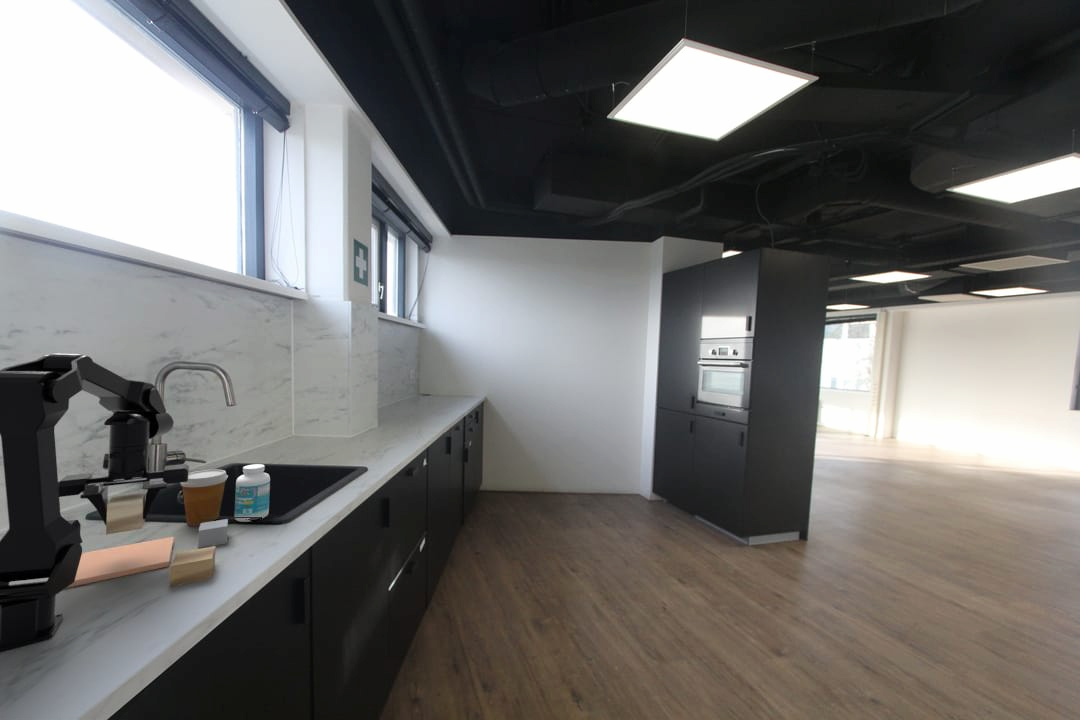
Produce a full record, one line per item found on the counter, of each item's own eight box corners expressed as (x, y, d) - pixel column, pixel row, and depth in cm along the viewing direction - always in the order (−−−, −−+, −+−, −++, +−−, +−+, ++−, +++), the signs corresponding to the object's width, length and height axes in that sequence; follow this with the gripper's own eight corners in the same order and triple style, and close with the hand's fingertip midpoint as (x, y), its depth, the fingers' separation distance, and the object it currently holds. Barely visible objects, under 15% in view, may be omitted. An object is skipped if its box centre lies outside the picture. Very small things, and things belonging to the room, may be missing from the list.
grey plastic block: (226, 543, 93) (227, 526, 93) (197, 548, 90) (198, 530, 90) (227, 535, 97) (227, 518, 97) (199, 540, 94) (200, 523, 94)
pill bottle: (226, 520, 105) (228, 468, 105) (253, 511, 113) (255, 461, 113) (250, 524, 104) (252, 471, 104) (275, 514, 111) (277, 464, 111)
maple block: (141, 528, 83) (142, 499, 83) (105, 534, 80) (107, 503, 80) (144, 520, 87) (145, 492, 87) (110, 526, 84) (112, 496, 84)
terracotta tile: (168, 566, 82) (168, 561, 82) (63, 588, 74) (63, 582, 74) (173, 541, 93) (173, 536, 93) (82, 557, 84) (83, 552, 84)
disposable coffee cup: (168, 529, 99) (170, 479, 99) (193, 514, 109) (195, 469, 109) (213, 527, 101) (215, 478, 101) (234, 513, 111) (235, 468, 111)
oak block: (211, 579, 78) (211, 558, 78) (169, 587, 75) (170, 566, 75) (214, 565, 83) (215, 546, 83) (175, 573, 80) (176, 552, 80)
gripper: (191, 434, 96) (188, 501, 95) (71, 442, 84) (68, 518, 84) (189, 442, 87) (186, 516, 87) (55, 452, 75) (51, 537, 75)
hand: (126, 521), depth 83 cm, fingers closed on maple block, 5 cm apart
